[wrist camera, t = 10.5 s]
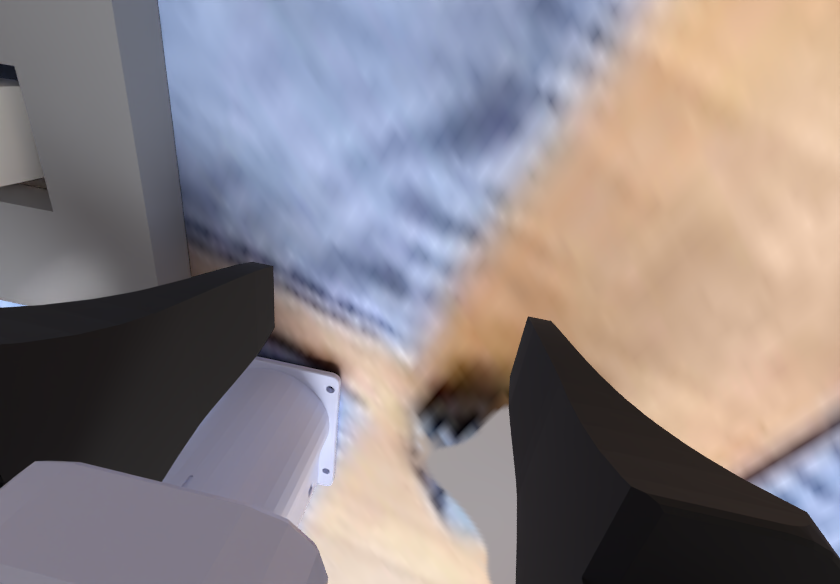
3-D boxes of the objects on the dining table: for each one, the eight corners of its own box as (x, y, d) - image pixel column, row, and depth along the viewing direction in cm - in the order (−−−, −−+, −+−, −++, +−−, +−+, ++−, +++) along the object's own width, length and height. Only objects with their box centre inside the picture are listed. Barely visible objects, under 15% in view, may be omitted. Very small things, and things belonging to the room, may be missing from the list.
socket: (195, 312, 25) (166, 335, 23) (-51, 261, 26) (-101, 278, 24) (147, -83, 17) (93, -108, 14) (-210, -132, 18) (-310, -162, 16)
